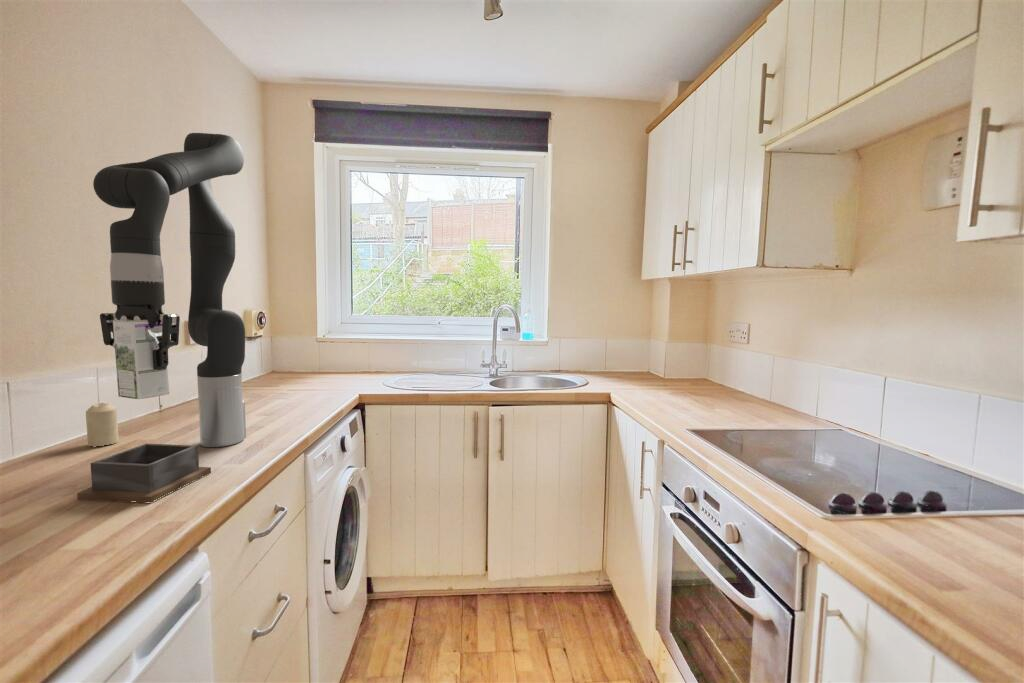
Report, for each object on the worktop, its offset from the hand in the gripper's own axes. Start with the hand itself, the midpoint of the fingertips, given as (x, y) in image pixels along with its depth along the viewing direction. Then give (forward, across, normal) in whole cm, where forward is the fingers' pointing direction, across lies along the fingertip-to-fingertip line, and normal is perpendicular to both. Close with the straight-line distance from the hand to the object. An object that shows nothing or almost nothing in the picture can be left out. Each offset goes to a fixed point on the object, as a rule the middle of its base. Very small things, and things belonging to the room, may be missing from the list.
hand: (142, 368), depth 83 cm
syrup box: (+5, 0, 0) cm, 5 cm away
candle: (+23, +32, -21) cm, 44 cm away
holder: (+23, 0, 0) cm, 23 cm away
